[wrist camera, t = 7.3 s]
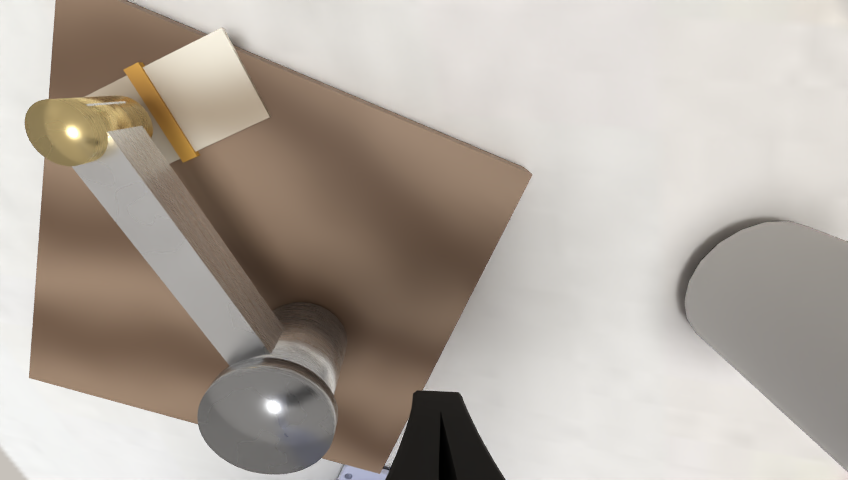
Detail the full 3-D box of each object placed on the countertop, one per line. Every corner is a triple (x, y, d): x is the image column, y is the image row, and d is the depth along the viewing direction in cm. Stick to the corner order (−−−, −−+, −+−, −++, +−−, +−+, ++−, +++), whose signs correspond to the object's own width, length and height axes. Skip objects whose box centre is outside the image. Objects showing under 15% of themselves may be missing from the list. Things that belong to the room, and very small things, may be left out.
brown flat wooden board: (381, 453, 26) (379, 478, 25) (52, 359, 23) (24, 381, 22) (530, 156, 19) (540, 163, 18) (89, -32, 16) (52, -45, 15)
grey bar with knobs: (372, 359, 21) (358, 448, 16) (287, 393, 22) (247, 489, 17) (189, 66, 16) (81, 61, 11) (85, 124, 17) (-62, 145, 12)
